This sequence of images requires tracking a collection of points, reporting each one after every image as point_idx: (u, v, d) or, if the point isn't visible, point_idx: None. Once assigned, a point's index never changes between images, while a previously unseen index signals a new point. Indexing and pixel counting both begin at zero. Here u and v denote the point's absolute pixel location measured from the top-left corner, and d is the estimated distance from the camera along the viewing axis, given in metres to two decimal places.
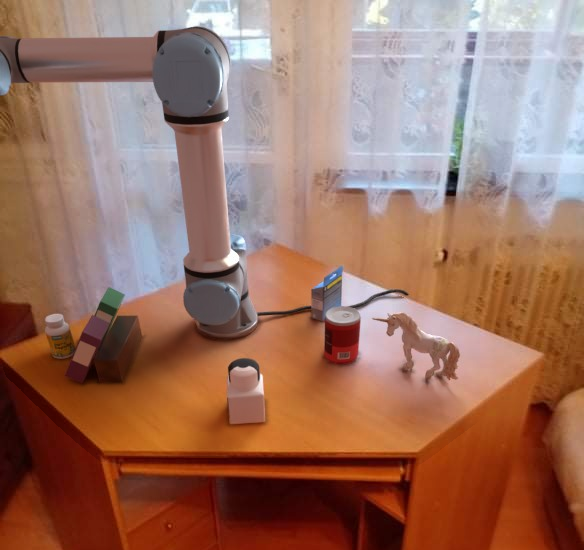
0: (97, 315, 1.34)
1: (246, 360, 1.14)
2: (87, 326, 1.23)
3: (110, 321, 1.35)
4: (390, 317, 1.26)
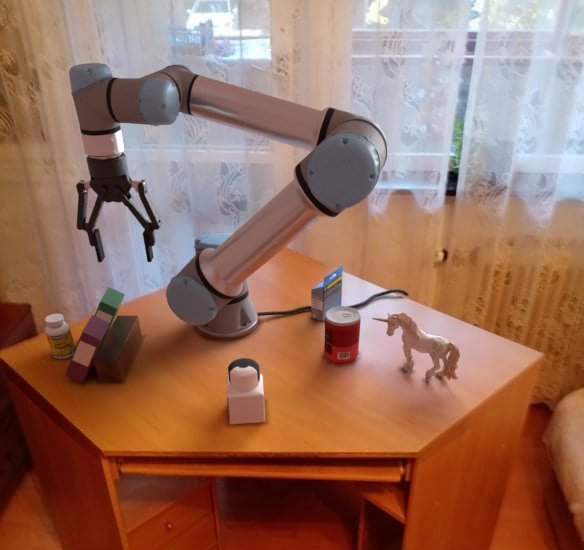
0: (97, 315, 1.34)
1: (246, 360, 1.14)
2: (87, 326, 1.23)
3: (110, 321, 1.35)
4: (390, 317, 1.26)
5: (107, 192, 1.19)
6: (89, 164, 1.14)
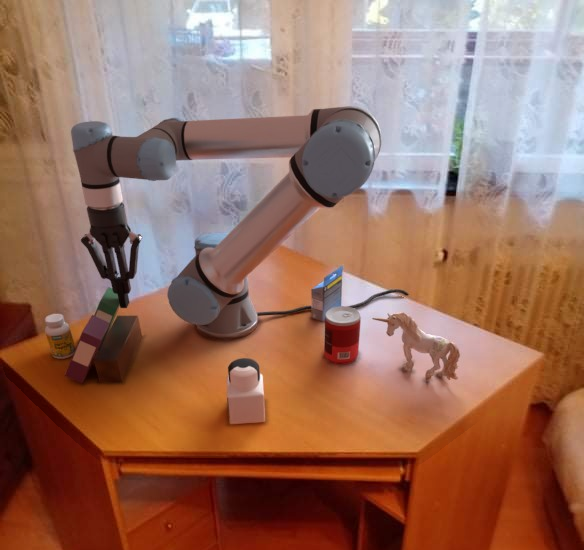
0: (97, 315, 1.34)
1: (246, 360, 1.14)
2: (87, 326, 1.23)
3: (110, 321, 1.35)
4: (390, 317, 1.26)
5: (106, 239, 1.25)
6: (89, 214, 1.21)
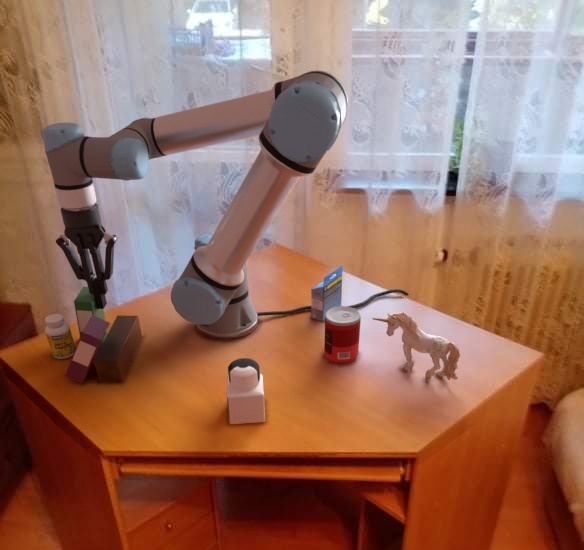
0: (78, 316, 1.34)
1: (246, 360, 1.14)
2: (87, 326, 1.23)
3: None
4: (390, 317, 1.26)
5: (81, 240, 1.26)
6: (63, 215, 1.21)
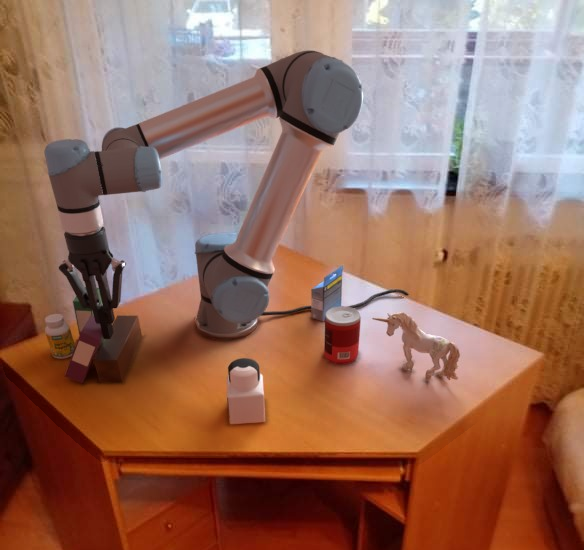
0: (78, 316, 1.34)
1: (246, 360, 1.14)
2: (86, 326, 1.23)
3: None
4: (390, 317, 1.26)
5: (86, 266, 1.15)
6: (67, 240, 1.10)
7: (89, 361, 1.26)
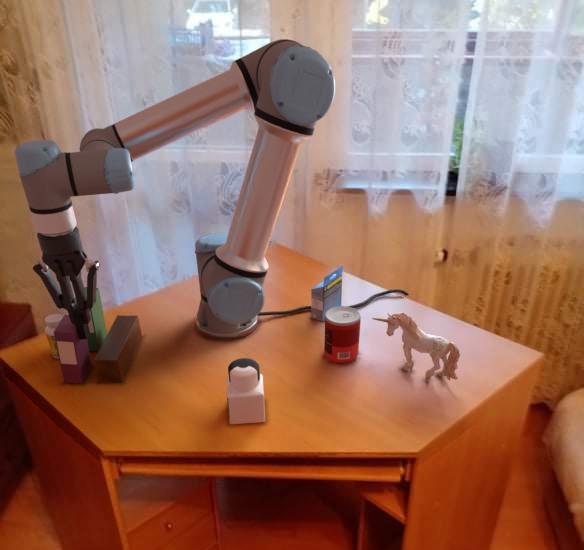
0: None
1: (246, 360, 1.14)
2: (59, 325, 1.23)
3: (91, 317, 1.34)
4: (390, 317, 1.26)
5: (60, 267, 1.15)
6: (39, 241, 1.10)
7: (76, 358, 1.25)
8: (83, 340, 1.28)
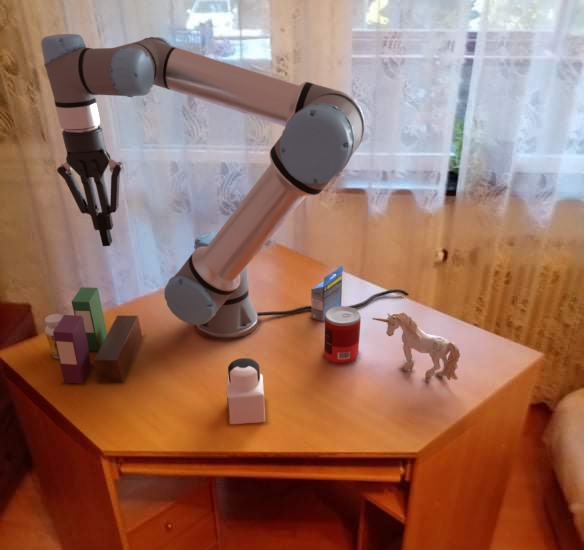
0: None
1: (246, 360, 1.14)
2: (58, 325, 1.23)
3: (90, 317, 1.34)
4: (390, 317, 1.26)
5: (84, 167, 1.18)
6: (65, 138, 1.13)
7: (75, 358, 1.25)
8: (83, 340, 1.28)
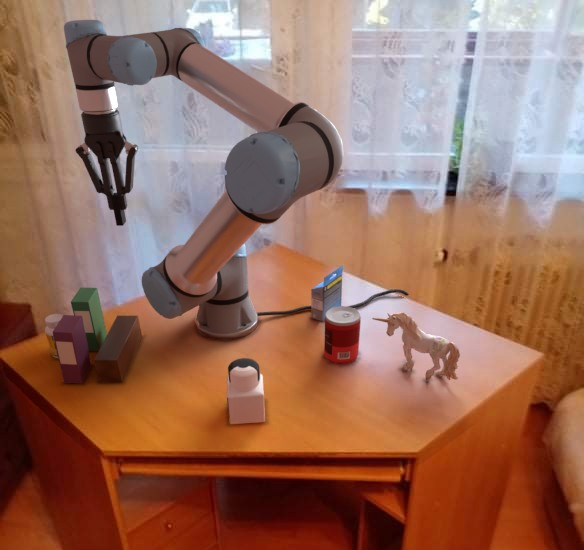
0: None
1: (246, 360, 1.14)
2: (58, 325, 1.23)
3: (90, 317, 1.34)
4: (390, 317, 1.26)
5: (101, 149, 1.23)
6: (84, 120, 1.18)
7: (75, 358, 1.25)
8: (82, 340, 1.28)
